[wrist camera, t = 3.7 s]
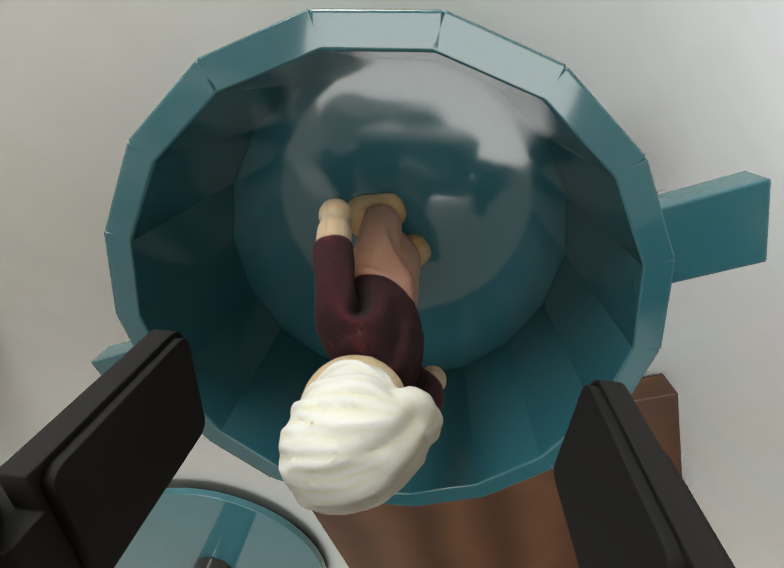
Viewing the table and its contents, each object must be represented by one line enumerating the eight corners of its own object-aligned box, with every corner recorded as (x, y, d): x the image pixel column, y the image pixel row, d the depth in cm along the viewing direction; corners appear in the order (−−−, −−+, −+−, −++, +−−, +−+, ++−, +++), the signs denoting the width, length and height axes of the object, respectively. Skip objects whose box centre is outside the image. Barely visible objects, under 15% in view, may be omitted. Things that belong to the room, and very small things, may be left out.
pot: (660, 330, 20) (771, 458, 14) (269, 412, 25) (210, 535, 18) (631, -79, 13) (828, -225, 7) (101, 143, 18) (-86, 184, 12)
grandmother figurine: (306, 207, 18) (108, 422, 7) (370, 150, 17) (251, 307, 6) (413, 323, 21) (392, 624, 9) (477, 282, 19) (541, 576, 8)
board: (382, 595, 34) (380, 616, 32) (288, 443, 26) (280, 463, 25) (676, 569, 29) (688, 593, 27) (663, 373, 21) (678, 393, 20)
